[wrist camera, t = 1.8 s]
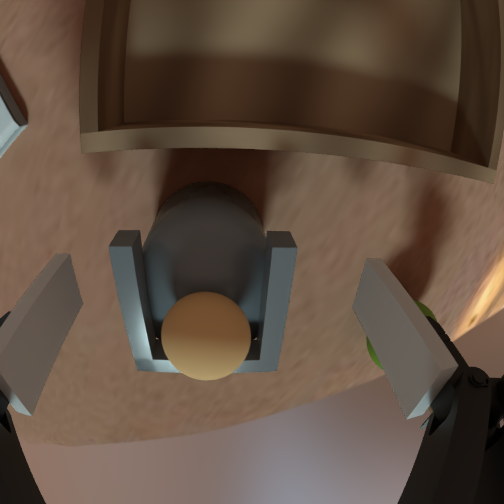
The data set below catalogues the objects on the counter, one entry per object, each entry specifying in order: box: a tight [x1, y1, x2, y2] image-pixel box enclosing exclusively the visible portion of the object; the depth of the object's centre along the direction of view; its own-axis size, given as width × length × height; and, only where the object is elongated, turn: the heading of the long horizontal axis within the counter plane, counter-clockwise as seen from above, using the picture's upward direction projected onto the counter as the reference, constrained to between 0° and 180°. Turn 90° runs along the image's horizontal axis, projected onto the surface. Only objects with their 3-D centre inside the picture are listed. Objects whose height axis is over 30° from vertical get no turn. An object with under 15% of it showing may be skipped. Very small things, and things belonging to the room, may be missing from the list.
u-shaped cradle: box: [109, 182, 297, 373], centre depth 14 cm, size 6×6×7 cm
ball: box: [161, 292, 251, 380], centre depth 11 cm, size 3×3×3 cm
